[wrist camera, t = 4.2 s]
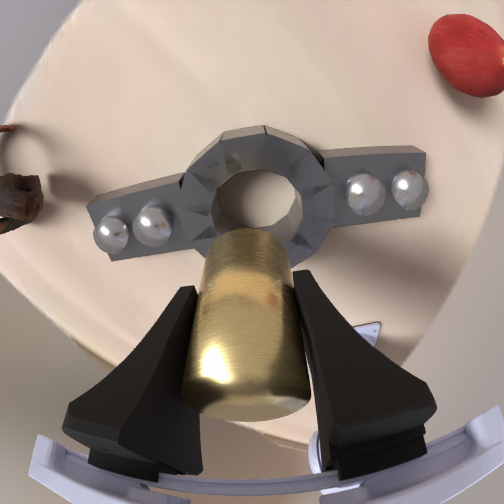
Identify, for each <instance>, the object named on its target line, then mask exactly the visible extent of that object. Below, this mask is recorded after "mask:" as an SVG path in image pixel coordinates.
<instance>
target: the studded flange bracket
mask: <svg viewBox="0 0 504 504" xmlns="http://www.w3.org/2000/svg"><path fill="white" fill-rule="evenodd" d="M317 154H318V161H317V159H316V158H315V157H314V155H313V154H312V153H311V151H310V150H309V149H308V148H307V146H306V145H305V144H304V143H303V142H302V141H301V140H300V139H299V138H296V137H294V136H291V135H289V134H286V133H284V132H281V131H279V130H276V129H273V128H271V127H268V126H265V125H264V127H263V125H260V126H253V127H247V128H241V129H235V130H230V131H225V133H224V132H223V133H222V134H221V135H220V136H219V137H217V138H216V139H215V140H214V141H213V142H212V143H210V144H209V145H208V146H207V147H206V148H205V149H204V150H202V151H201V152H200V153H199V154H198V155H197V156H196V157H195V159H194V160H193V162H192V163H191V164H190V166H189V167H188V169H187V170H186V173H180V174H175V175H171V176H167V177H163V178H159V179H155V180H151V181H147V182H143V183H140V184H136V185H132V186H129V187H125V188H122V189H118V190H115V191H111V192H108V193H105V194H102V195H98V196H96V197H95V198H94V199H93V200H92V201H91V202H90V203H89V204H88V205H87V206H86V208H87V210H88V212H89V215H90V217H91V219H92V221H93V224H94V226H95V229H94V232H93V237H94V240H95V243H96V244H97V246H98V247H99V248H100V249H101V250H103V251H104V252H106V253H108V255H109V257H110V259H111V261H118V260H124V259H130V258H136V257H142V256H148V255H154V254H161V253H167V252H173V251H180V250H186V249H192V248H194V249H195V250H197V251H198V252H199V253H200V254H201V255H202V256H203V257H204V258H206V255H207V252H208V249H209V248H210V246H211V244H212V243H213V242H214V241H215V240H216V239H217V238H218V237H220V236H221V235H223V234H225V233H227V232H229V231H232V230H236V229H242V228H249V227H245V226H242V225H239V224H236V223H233V222H232V221H231V220H230V219H229V218H228V217H227V216H226V215H225V214H224V213H223V212H222V211H221V210H220V207H219V203H218V199H217V195H216V191H217V188H218V187H220V186H221V185H222V184H223V183H225V182H226V181H227V180H228V179H229V178H231V177H232V176H233V175H234V174H236V173H239V172H245V171H251V170H257V169H264V170H267V171H270V172H273V173H276V174H278V175H281V176H284V177H286V178H287V179H288V180H289V181H290V183H291V184H292V185H293V186H294V188H295V195H296V198H295V200H294V202H293V204H292V207H291V209H290V211H289V213H288V215H286V216H285V217H284V218H282V219H281V220H279V221H278V222H276V223H275V224H274V225H272V226H267V227H260V228H253V229H258V230H262V231H265V232H267V233H269V234H271V235H273V236H274V237H276V238H277V239H278V240H279V241H280V242H281V243H282V244H283V246H284V247H285V249H286V251H287V254H288V258H289V263H290V269H291V268H292V267H294V266H296V265H297V264H299V263H300V262H302V261H304V260H305V259H307V258H308V257H310V256H311V255H313V254H315V253H316V251H318V249H319V247H320V246H321V244H322V242H323V240H324V239H325V237H326V235H327V234H328V232H329V230H330V228H336V227H343V226H351V225H358V224H365V223H373V222H381V221H388V220H396V219H404V218H412V217H420V211H421V205H422V204H423V203H424V202H425V200H426V199H427V196H428V190H429V188H428V183H427V181H426V180H425V178H424V174H425V158H426V152H424V151H422V150H420V149H418V148H416V147H414V146H378V147H358V148H344V149H332V150H321V151H317Z"/></svg>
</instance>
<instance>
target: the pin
mask: <svg viewBox="0 0 504 504" xmlns="http://www.w3.org/2000/svg"><path fill="white" fill-rule="evenodd" d="M181 396H182V399H183V400H184V402H185V403H186V404H187V405H188V406H190V407H191V408H192V409H194V410H196V411H198V412H200V413H202V414H204V415H207V416H210V417H214V418H218V419H223V420H229V421H240V422H255V421H266V420H272V419H277V418H281V417H284V416H287V415H290V414H292V413H294V412H296V411H298V410H300V409H301V408H303V407H304V406H305V405H306V404H307V403H308V402H309V401H310V399H311V387H310V380H309V374H308V367H307V361H306V354H305V348H304V342H303V336H302V330H301V324H300V318H299V312H298V307H297V302H296V296H295V290H294V284H293V279H292V274H291V269H290V263H289V258H288V254H287V251H286V249H285V247H284V246H283V244H282V243H281V242H280V241H279V240H278V239H277V238H276V237H274V236H273V235H271V234H269V233H267V232H265V231H262V230H258V229H252V228H242V229H236V230H232V231H229V232H227V233H225V234H223V235H221V236H220V237H218V238H217V239H216V240H215V241H214V242H213V243H212V244H211V246H210V248H209V249H208V252H207V255H206V260H205V264H204V269H203V274H202V279H201V283H200V288H199V293H198V298H197V304H196V309H195V314H194V319H193V325H192V330H191V336H190V341H189V347H188V353H187V359H186V365H185V371H184V377H183V384H182V390H181Z"/></svg>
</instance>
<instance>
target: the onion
mask: <svg viewBox="0 0 504 504" xmlns="http://www.w3.org/2000/svg"><path fill="white" fill-rule="evenodd" d="M428 41H429V51H430V54H431V56H432V59H433V62H434V64H435V65H436V67H437V68H438V70H439V72H440V73H441V75H442V76H443V77H444V78H445V79H446V80H447V81H448V82H449V83H450V84H451V85H452V86H453V87H454V88H455V89H457V90H459V91H461V92H462V93H465V94H468V95H471V96H474V97H481V98H483V97H489V96H494V95H498V94H500V93H501V92H502V91H503V90H504V40H503V39H502V38H501V37H500V36H499V34H498V33H497V32H496V31H495V30H494V29H493V28H492V27H490V26H489V25H488V24H486V23H484V22H483V21H481V20H479V19H477V18H475V17H473V16H470V15H466V14H451V15H445V16H443V17H441V18H440V19H438V20H437V21H436V22H435V23H434V24H433V26H432V28H431V31H430V34H429V37H428Z"/></svg>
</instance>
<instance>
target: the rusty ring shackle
mask: <svg viewBox="0 0 504 504" xmlns="http://www.w3.org/2000/svg"><path fill="white" fill-rule="evenodd" d="M13 130H14V127H13V126H8V125H3V126H1V125H0V133H1V132H12V131H13ZM43 198H44V197H43V193H42V191H41V183H40V179H39V177H38V175H35V176H33V175H30V176H22V175H19V174H17V175H15V174H13V173H8V174H6V175H4V176H0V216H2V217H4V218H0V234H4V233H6V232H9V231H11V230H15V229H16V228H19V227H21V226H23V225H26V224H28V223H30V222H32V221H33V220H34V219H35V218H36V217H37V215H38V213H39V211H40V210H41V209H42V206H43Z"/></svg>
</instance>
